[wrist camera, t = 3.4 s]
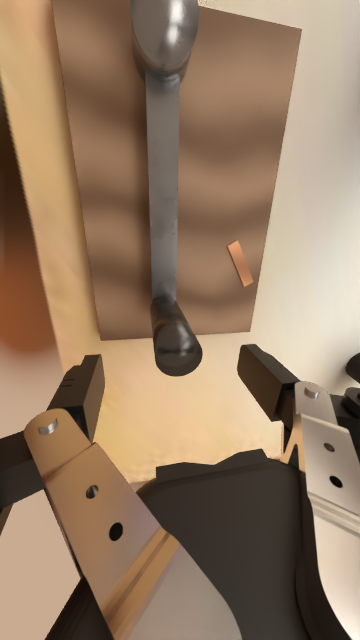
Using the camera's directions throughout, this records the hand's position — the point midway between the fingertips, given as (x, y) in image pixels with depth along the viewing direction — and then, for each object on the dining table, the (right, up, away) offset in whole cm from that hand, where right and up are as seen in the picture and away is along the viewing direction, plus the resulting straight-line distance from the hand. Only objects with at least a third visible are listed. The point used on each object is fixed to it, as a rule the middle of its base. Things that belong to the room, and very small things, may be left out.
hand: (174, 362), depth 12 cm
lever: (-1, +13, +6) cm, 15 cm away
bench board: (0, +13, +9) cm, 16 cm away
